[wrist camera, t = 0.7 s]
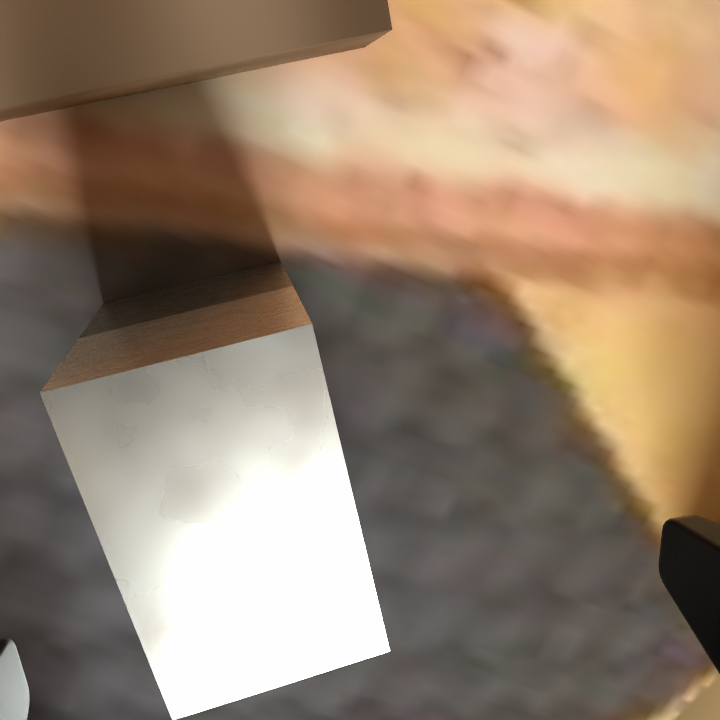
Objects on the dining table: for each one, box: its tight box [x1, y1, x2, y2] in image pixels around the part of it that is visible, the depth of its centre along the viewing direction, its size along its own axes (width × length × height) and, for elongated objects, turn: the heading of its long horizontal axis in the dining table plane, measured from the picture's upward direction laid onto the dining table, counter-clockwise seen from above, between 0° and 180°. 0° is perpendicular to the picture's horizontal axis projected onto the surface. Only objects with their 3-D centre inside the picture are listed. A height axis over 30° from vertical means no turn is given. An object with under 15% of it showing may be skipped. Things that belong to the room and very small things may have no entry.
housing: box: [40, 261, 390, 720], centre depth 17 cm, size 8×5×7 cm, turn 11°
